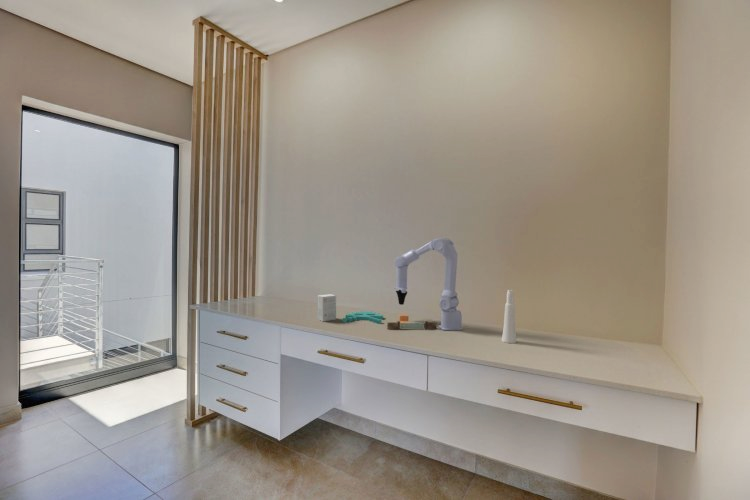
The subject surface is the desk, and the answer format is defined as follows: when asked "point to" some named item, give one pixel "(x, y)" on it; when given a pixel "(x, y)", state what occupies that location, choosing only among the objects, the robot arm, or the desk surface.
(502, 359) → the desk surface
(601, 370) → the desk surface
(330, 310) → the small box
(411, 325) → the grey rod
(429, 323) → the frame
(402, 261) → the robot arm
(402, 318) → the doorstop wedge
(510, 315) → the cosmetic bottle
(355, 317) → the alien figure
